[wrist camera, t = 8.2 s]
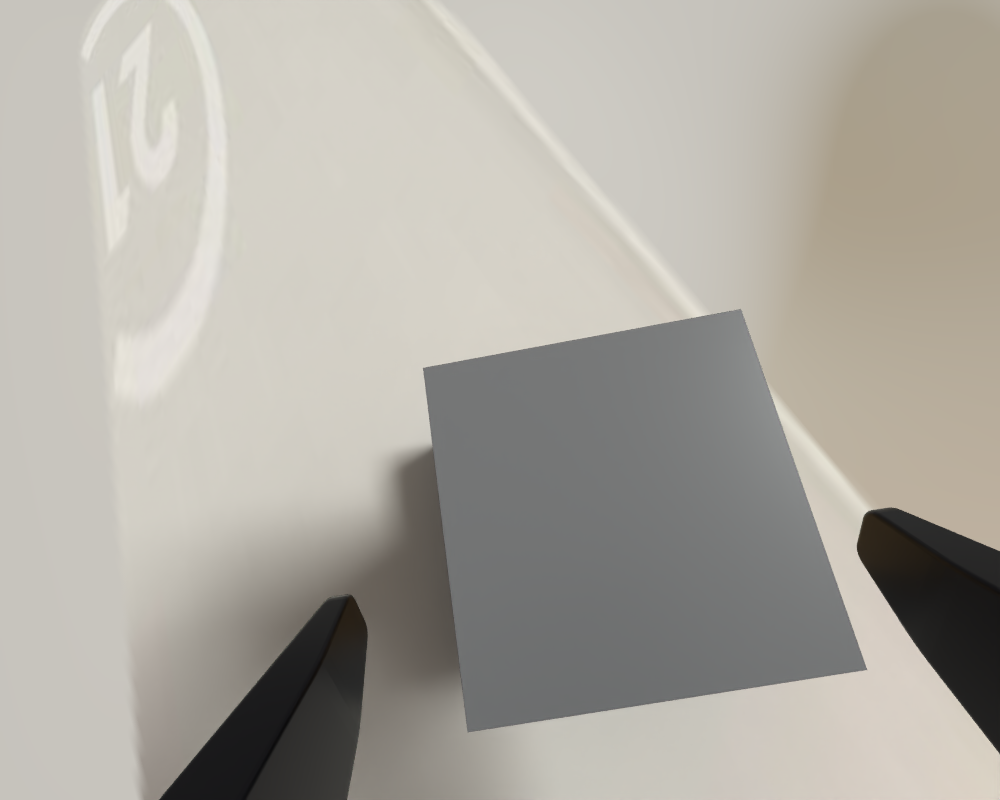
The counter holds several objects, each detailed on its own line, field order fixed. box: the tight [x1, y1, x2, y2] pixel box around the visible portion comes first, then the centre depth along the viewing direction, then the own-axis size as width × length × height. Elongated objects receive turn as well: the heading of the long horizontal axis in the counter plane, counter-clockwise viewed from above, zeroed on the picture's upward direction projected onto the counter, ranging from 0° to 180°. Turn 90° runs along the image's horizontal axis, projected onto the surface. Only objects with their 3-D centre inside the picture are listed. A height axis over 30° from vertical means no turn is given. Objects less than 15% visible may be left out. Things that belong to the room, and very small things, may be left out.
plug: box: [423, 309, 867, 732], centre depth 12 cm, size 4×4×12 cm
